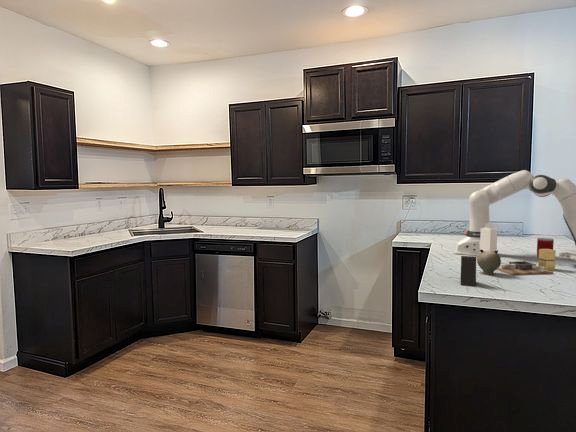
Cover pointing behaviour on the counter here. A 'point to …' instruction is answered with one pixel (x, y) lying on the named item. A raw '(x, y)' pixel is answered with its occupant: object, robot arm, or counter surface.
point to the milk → (488, 238)
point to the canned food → (544, 244)
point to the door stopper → (468, 270)
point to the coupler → (547, 258)
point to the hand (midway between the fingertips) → (566, 256)
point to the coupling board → (522, 268)
